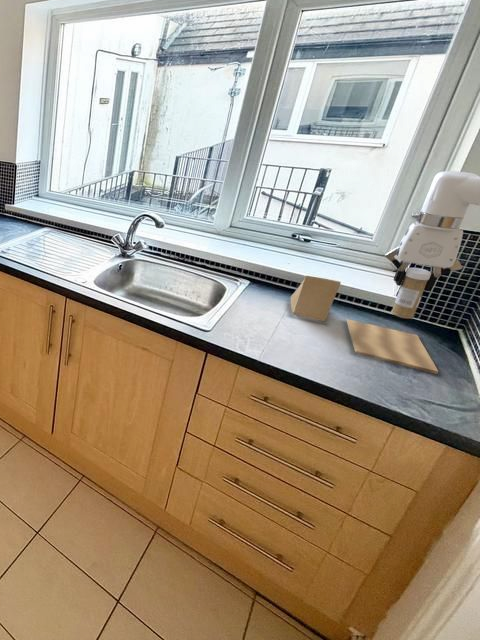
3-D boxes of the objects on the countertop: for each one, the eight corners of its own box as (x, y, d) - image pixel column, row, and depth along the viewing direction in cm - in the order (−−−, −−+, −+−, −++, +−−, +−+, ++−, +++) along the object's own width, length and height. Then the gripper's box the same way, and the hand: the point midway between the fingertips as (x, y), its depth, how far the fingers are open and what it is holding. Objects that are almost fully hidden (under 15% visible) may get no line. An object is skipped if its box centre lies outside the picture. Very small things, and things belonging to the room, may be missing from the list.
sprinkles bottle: (418, 317, 113) (436, 272, 108) (405, 320, 112) (423, 274, 108) (398, 310, 118) (415, 265, 113) (385, 312, 117) (402, 268, 112)
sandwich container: (319, 304, 143) (334, 264, 137) (324, 325, 131) (341, 282, 125) (288, 298, 147) (302, 258, 141) (291, 317, 135) (306, 275, 129)
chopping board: (415, 339, 123) (417, 334, 123) (436, 376, 106) (438, 371, 106) (344, 323, 132) (346, 318, 131) (354, 355, 115) (355, 350, 115)
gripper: (396, 218, 108) (371, 283, 114) (494, 230, 99) (461, 299, 105) (390, 212, 114) (367, 274, 120) (482, 223, 105) (452, 289, 111)
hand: (411, 285), depth 113 cm, fingers closed on sprinkles bottle, 4 cm apart
